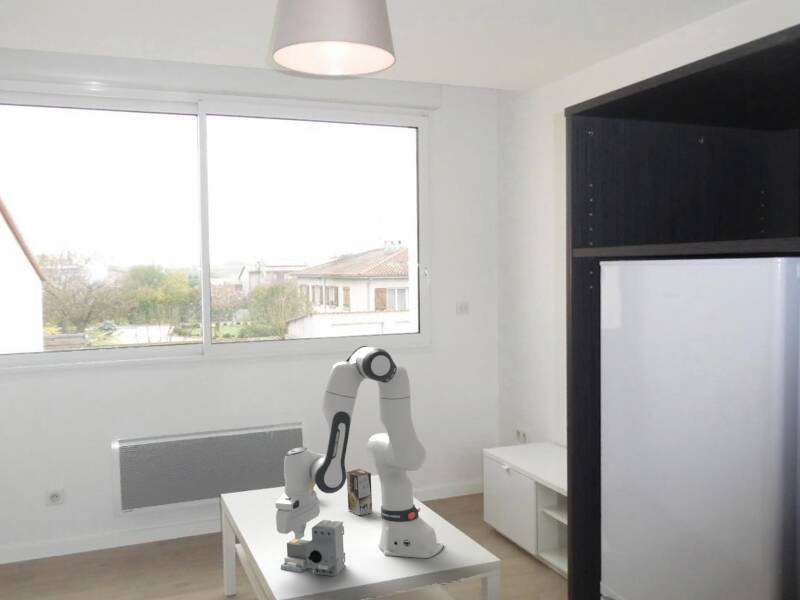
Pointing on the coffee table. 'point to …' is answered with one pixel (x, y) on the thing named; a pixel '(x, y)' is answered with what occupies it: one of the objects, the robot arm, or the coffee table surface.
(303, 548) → the module
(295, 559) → the panel
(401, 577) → the coffee table surface
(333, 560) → the circuit breaker
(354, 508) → the coffee box
